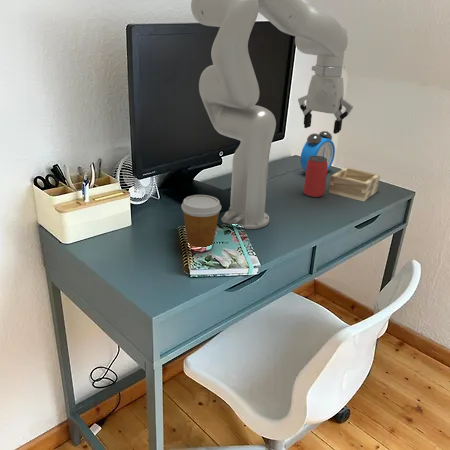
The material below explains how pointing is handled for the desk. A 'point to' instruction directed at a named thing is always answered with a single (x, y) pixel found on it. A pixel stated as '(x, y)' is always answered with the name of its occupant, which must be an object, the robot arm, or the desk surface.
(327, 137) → the alarm clock
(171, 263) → the desk surface
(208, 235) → the disposable coffee cup
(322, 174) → the beer can
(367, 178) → the wooden box
